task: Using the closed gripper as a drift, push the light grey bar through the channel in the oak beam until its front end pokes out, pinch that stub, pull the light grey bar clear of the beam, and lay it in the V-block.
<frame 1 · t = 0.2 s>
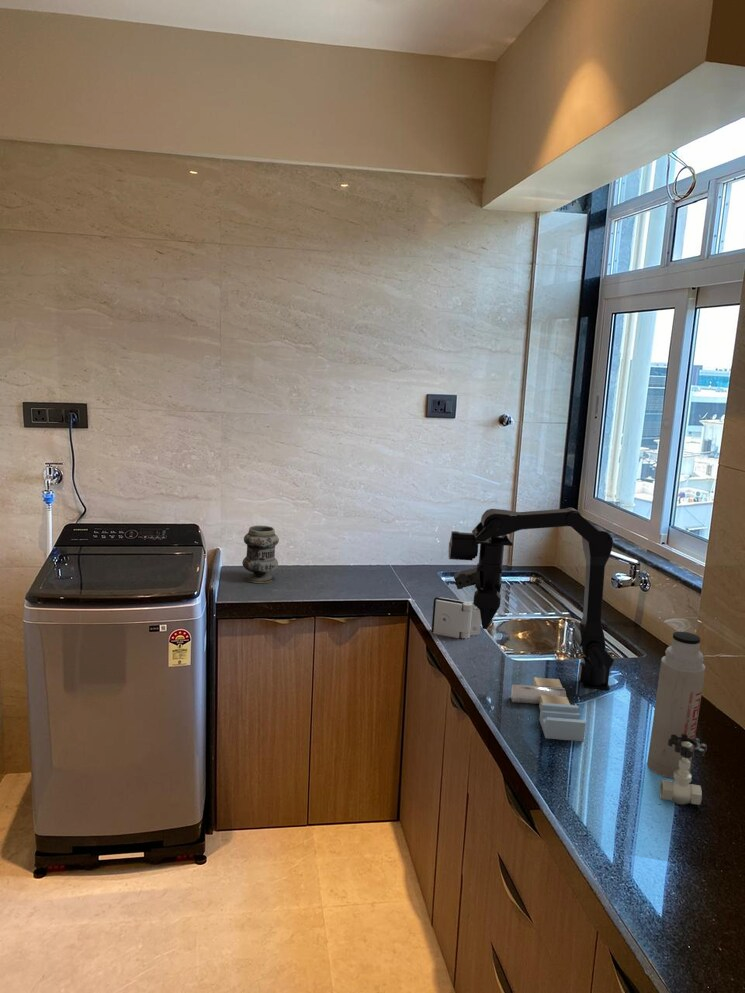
hand: (485, 622, 184), 14 cm above the worktop, tool pointing down, fingers open, 9 cm apart
thermos bottle: (668, 768, 149), on the worktop
light grey bar: (537, 702, 174), on the worktop
valve: (678, 803, 137), on the worktop
beam: (550, 703, 174), on the worktop
v block: (560, 730, 161), on the worktop
apothecary jar: (259, 579, 255), on the worktop
hinge: (456, 634, 215), on the worktop
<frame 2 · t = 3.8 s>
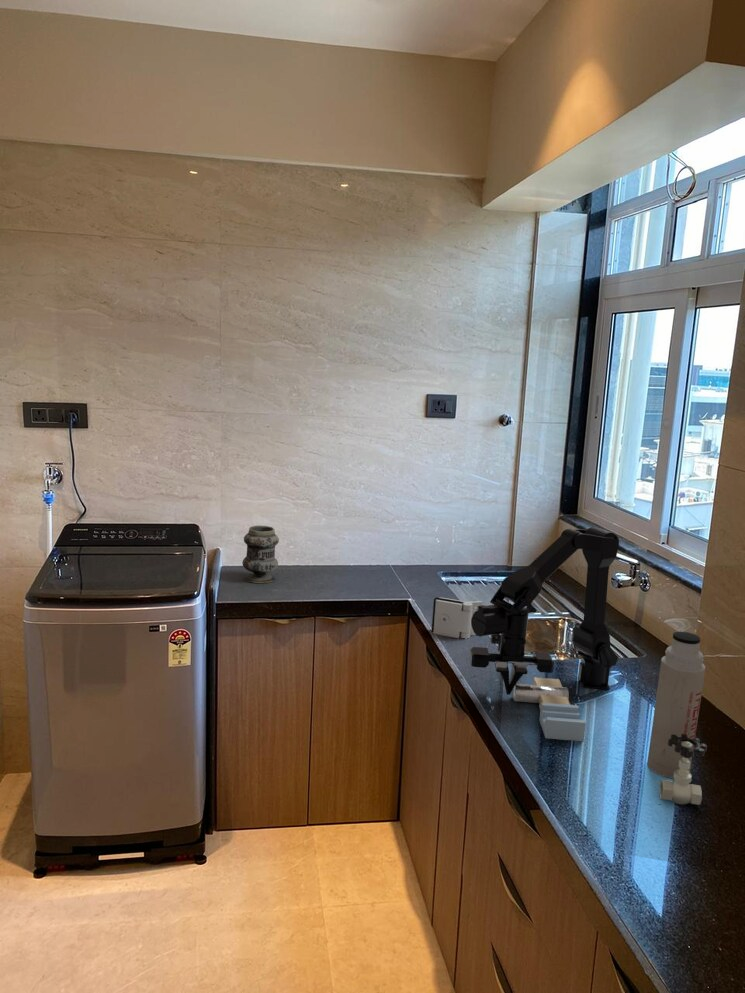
hand: (507, 693, 174), 1 cm above the worktop, tool pointing down, fingers closed
light grey bar: (539, 702, 174), on the worktop, touching gripper
everything else where it was.
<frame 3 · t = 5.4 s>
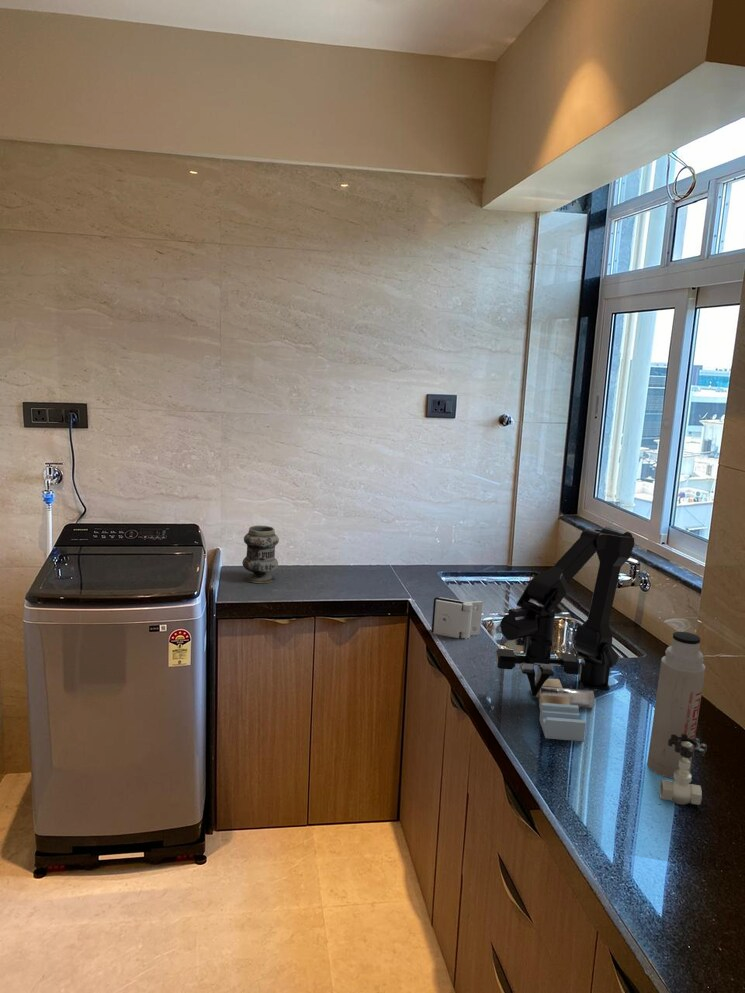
hand: (533, 695, 174), 2 cm above the worktop, tool pointing down, fingers closed
light grey bar: (565, 705, 174), on the worktop
everything else where it was.
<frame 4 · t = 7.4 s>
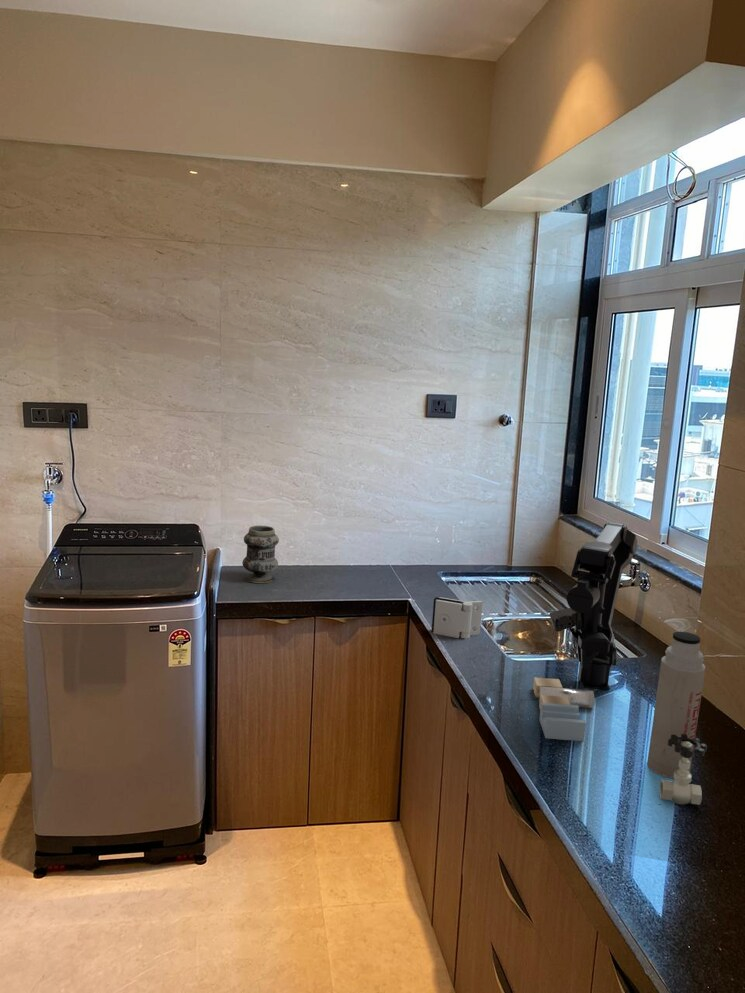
hand: (582, 665, 172), 10 cm above the worktop, tool pointing down, fingers open, 3 cm apart
nothing on the worktop moved.
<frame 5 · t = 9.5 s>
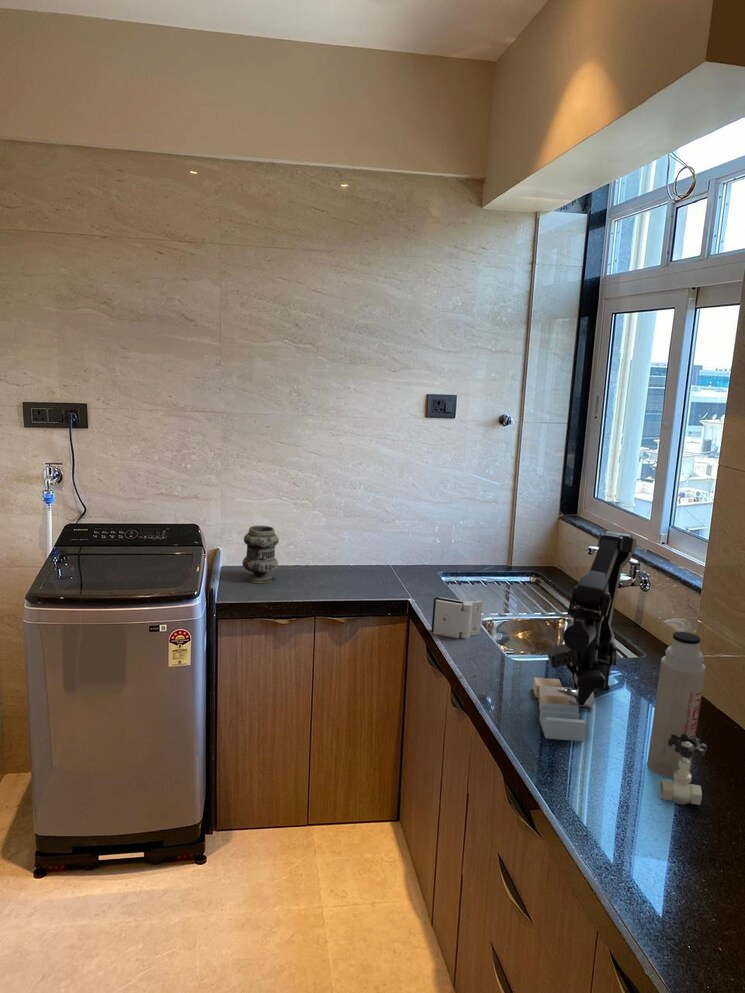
hand: (578, 700, 174), 1 cm above the worktop, tool pointing down, fingers closed on light grey bar, 4 cm apart
light grey bar: (564, 704, 174), on the worktop, touching gripper
everything else where it was.
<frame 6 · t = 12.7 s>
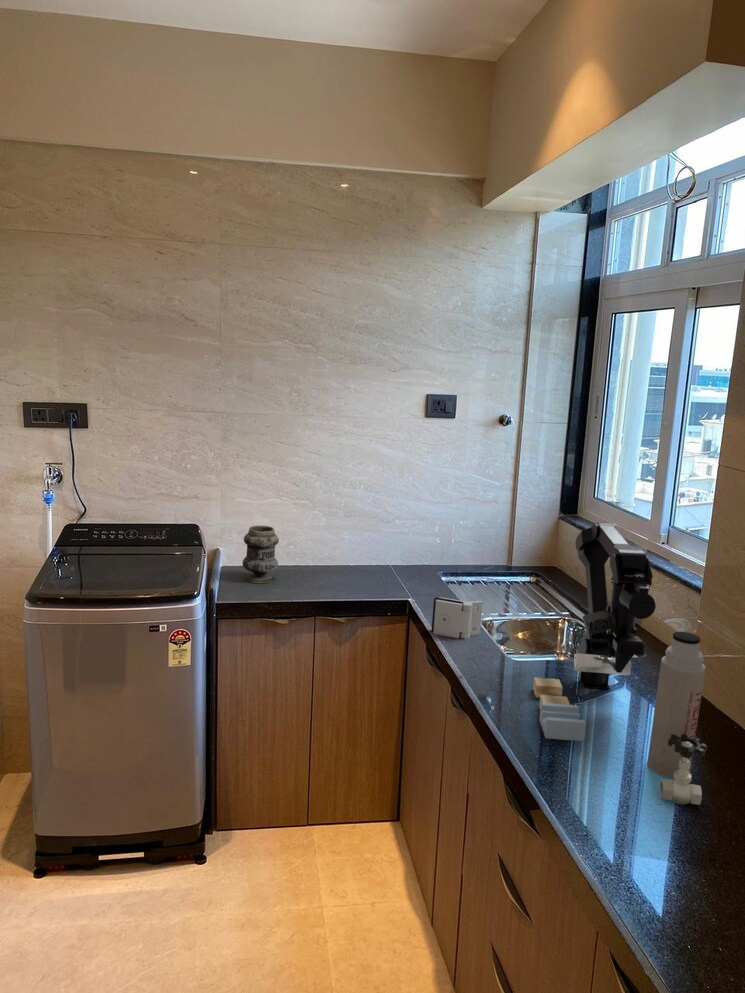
hand: (616, 668, 172), 10 cm above the worktop, tool pointing down, fingers closed on light grey bar, 4 cm apart
light grey bar: (601, 672, 172), point 9 cm above the worktop, touching gripper
everything else where it was.
when the fingers open (5 cm above the worktop, at t = 15.8 s): light grey bar drops 2 cm, resting on v block.
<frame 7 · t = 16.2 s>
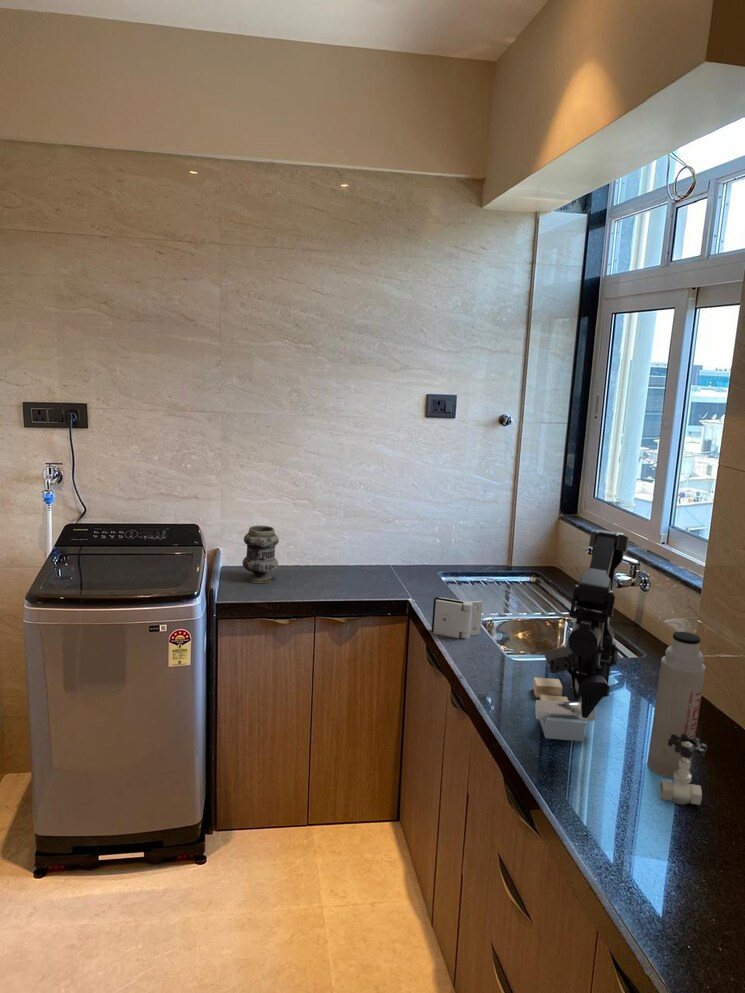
hand: (580, 708, 160), 5 cm above the worktop, tool pointing down, fingers open, 8 cm apart
light grey bar: (564, 718, 161), point 3 cm above the worktop, touching v block
everything else where it was.
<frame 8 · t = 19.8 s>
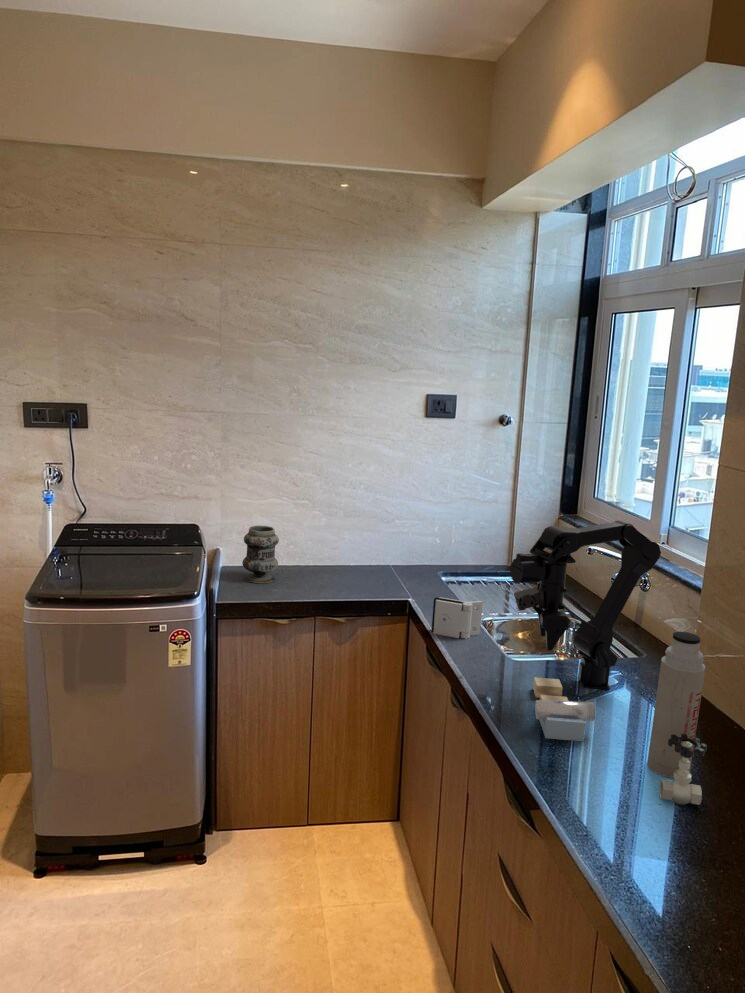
hand: (546, 643, 179), 12 cm above the worktop, tool pointing down, fingers open, 9 cm apart
nothing on the worktop moved.
at the end: light grey bar 0.5 cm off-centre on the v block, point 2.7 cm above the v block's base; light grey bar touching v block; the gripper is holding nothing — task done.
